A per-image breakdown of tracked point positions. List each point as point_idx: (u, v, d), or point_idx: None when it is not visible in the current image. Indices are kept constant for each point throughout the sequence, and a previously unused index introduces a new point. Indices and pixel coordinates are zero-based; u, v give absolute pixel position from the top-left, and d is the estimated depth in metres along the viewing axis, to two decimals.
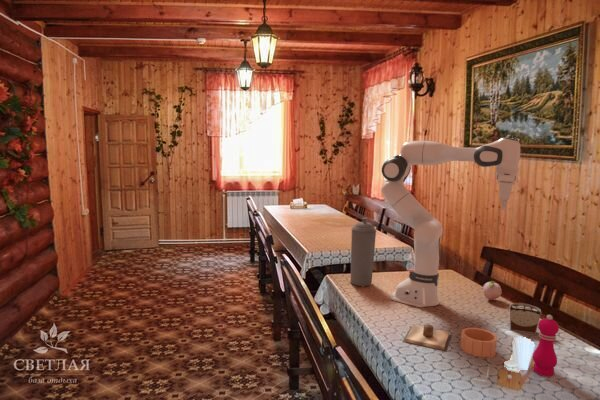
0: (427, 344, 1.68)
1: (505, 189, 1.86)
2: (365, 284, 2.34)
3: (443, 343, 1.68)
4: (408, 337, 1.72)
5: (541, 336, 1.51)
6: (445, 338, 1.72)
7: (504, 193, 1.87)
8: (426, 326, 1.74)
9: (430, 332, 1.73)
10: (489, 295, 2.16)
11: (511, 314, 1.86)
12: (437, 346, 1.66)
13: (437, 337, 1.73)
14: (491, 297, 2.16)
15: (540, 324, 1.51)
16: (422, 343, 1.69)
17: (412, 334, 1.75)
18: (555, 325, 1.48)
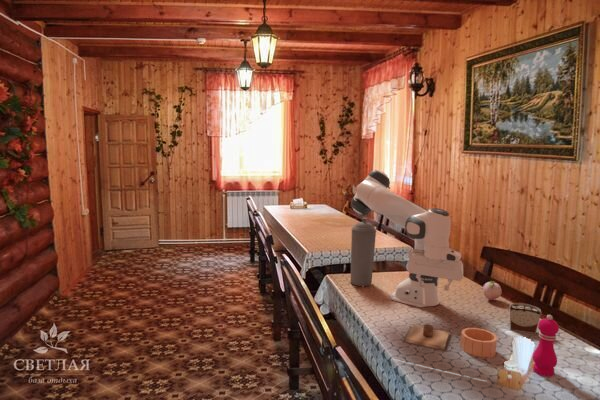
0: (427, 344, 1.68)
1: (462, 268, 1.67)
2: (365, 284, 2.34)
3: (443, 343, 1.68)
4: (408, 337, 1.72)
5: (541, 336, 1.51)
6: (445, 338, 1.72)
7: (462, 273, 1.67)
8: (426, 326, 1.74)
9: (430, 332, 1.73)
10: (489, 295, 2.16)
11: (511, 314, 1.86)
12: (437, 346, 1.66)
13: (437, 337, 1.73)
14: (491, 297, 2.16)
15: (540, 324, 1.51)
16: (422, 343, 1.69)
17: (412, 334, 1.75)
18: (555, 325, 1.48)
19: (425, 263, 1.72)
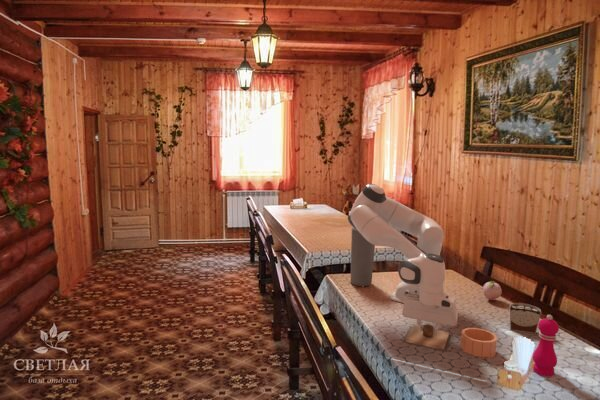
0: (427, 344, 1.68)
1: (456, 314, 1.69)
2: (365, 284, 2.34)
3: (443, 343, 1.68)
4: (408, 337, 1.72)
5: (541, 336, 1.51)
6: (445, 338, 1.72)
7: None
8: (426, 326, 1.74)
9: (430, 332, 1.73)
10: (489, 295, 2.16)
11: (511, 314, 1.86)
12: (437, 346, 1.66)
13: (437, 337, 1.73)
14: (491, 297, 2.16)
15: (540, 324, 1.51)
16: (422, 343, 1.69)
17: (412, 333, 1.75)
18: (555, 325, 1.48)
19: (420, 308, 1.73)
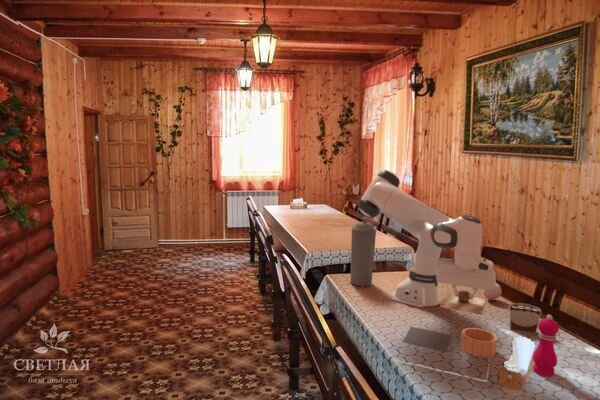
0: (463, 309, 1.60)
1: (495, 278, 1.61)
2: (365, 284, 2.34)
3: (480, 308, 1.60)
4: (443, 302, 1.65)
5: (541, 336, 1.51)
6: (482, 304, 1.64)
7: (495, 282, 1.61)
8: (462, 291, 1.66)
9: (466, 298, 1.65)
10: (489, 295, 2.16)
11: (511, 314, 1.86)
12: (474, 311, 1.59)
13: (473, 303, 1.65)
14: (491, 297, 2.16)
15: (540, 324, 1.51)
16: (458, 308, 1.61)
17: (446, 299, 1.68)
18: (555, 325, 1.48)
19: (456, 272, 1.65)
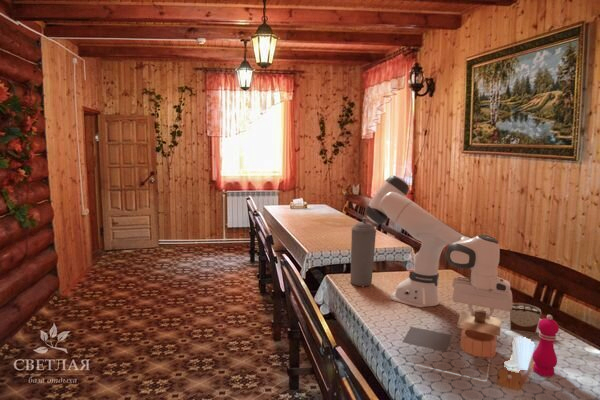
0: (481, 330, 1.59)
1: None
2: (365, 284, 2.34)
3: (497, 328, 1.59)
4: (459, 323, 1.63)
5: (541, 336, 1.51)
6: (498, 324, 1.63)
7: None
8: (478, 311, 1.65)
9: (483, 318, 1.64)
10: None
11: (511, 314, 1.86)
12: (492, 332, 1.57)
13: (490, 323, 1.64)
14: None
15: (540, 324, 1.51)
16: (475, 329, 1.60)
17: (462, 319, 1.66)
18: (555, 325, 1.48)
19: (472, 292, 1.64)
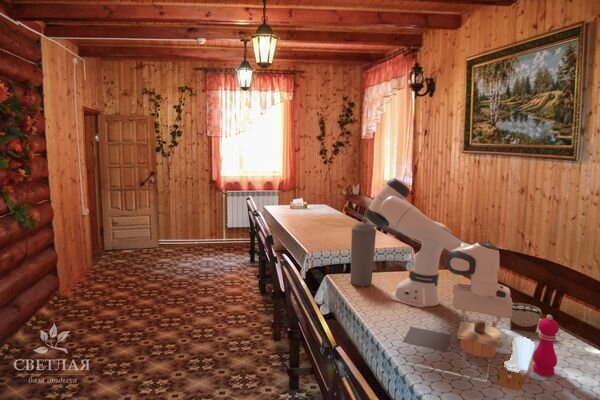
0: (481, 341, 1.60)
1: None
2: (365, 284, 2.34)
3: (497, 339, 1.60)
4: (459, 333, 1.64)
5: (541, 336, 1.51)
6: (498, 334, 1.64)
7: None
8: (477, 322, 1.66)
9: (482, 328, 1.64)
10: None
11: None
12: (492, 343, 1.58)
13: (489, 333, 1.65)
14: None
15: (540, 324, 1.51)
16: (475, 339, 1.60)
17: (462, 330, 1.67)
18: (555, 325, 1.48)
19: (472, 299, 1.65)
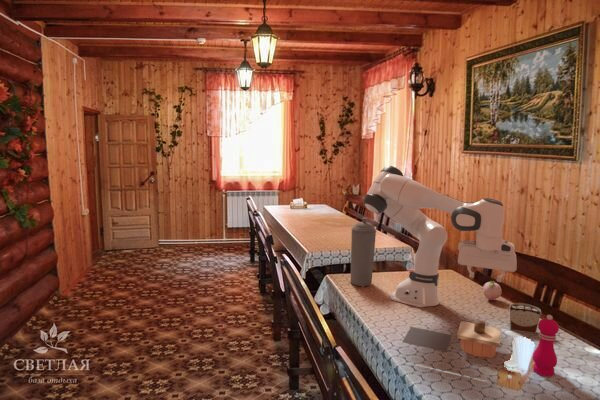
0: (481, 341, 1.60)
1: (516, 259, 1.64)
2: (365, 284, 2.34)
3: (497, 339, 1.60)
4: (459, 333, 1.64)
5: (541, 336, 1.51)
6: (498, 334, 1.64)
7: None
8: (477, 322, 1.66)
9: (482, 328, 1.64)
10: (489, 295, 2.16)
11: (511, 314, 1.86)
12: (492, 343, 1.58)
13: (489, 333, 1.65)
14: (491, 297, 2.16)
15: (540, 324, 1.51)
16: (475, 339, 1.60)
17: (462, 330, 1.67)
18: (555, 325, 1.48)
19: (477, 254, 1.68)
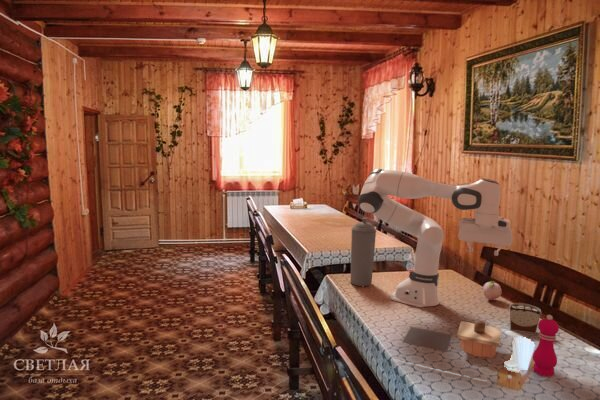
0: (481, 341, 1.60)
1: None
2: (365, 284, 2.34)
3: (497, 339, 1.60)
4: (459, 333, 1.64)
5: (541, 336, 1.51)
6: (498, 334, 1.64)
7: None
8: (477, 322, 1.66)
9: (482, 328, 1.64)
10: (489, 295, 2.16)
11: (511, 314, 1.86)
12: (492, 343, 1.58)
13: (489, 333, 1.65)
14: (491, 297, 2.16)
15: (540, 324, 1.51)
16: (475, 339, 1.60)
17: (462, 330, 1.67)
18: (555, 325, 1.48)
19: (476, 230, 1.82)
